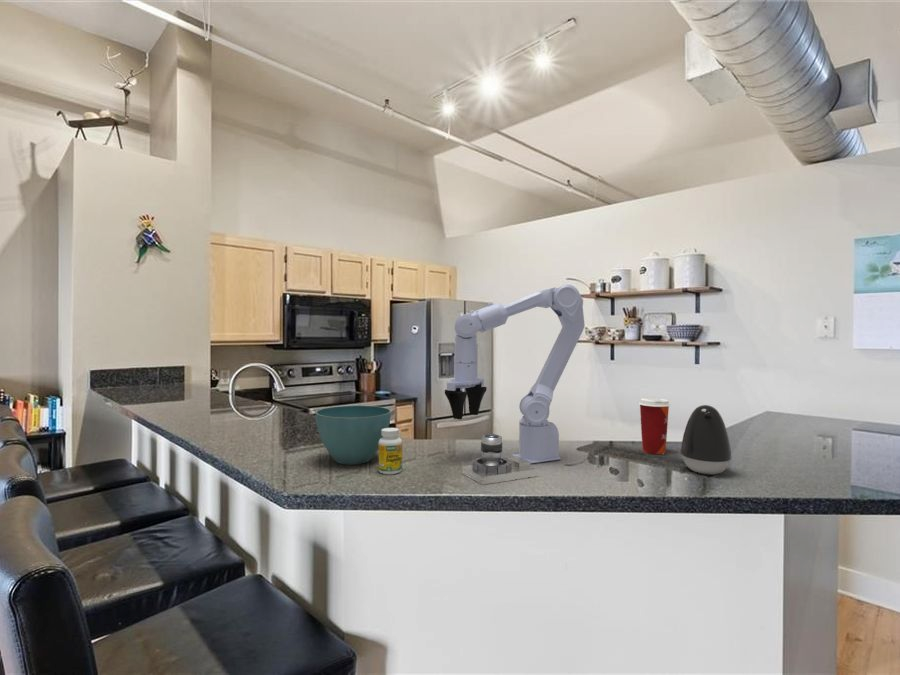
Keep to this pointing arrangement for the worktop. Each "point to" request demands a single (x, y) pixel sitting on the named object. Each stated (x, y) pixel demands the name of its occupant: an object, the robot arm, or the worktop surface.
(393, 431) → the supplement bottle
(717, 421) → the black egg-shaped body
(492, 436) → the lens
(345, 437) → the teal bowl
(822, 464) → the worktop surface
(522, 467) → the octagonal collar plate
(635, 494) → the worktop surface
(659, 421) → the paper cup
